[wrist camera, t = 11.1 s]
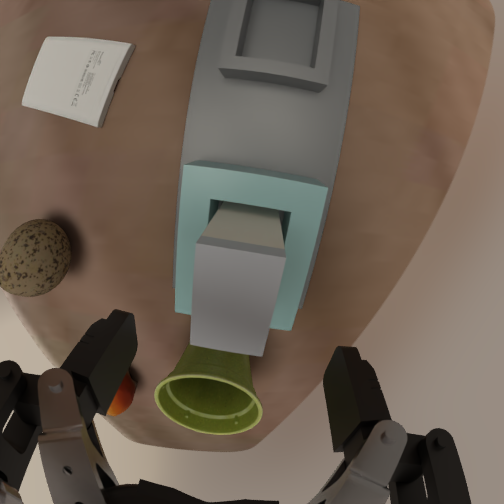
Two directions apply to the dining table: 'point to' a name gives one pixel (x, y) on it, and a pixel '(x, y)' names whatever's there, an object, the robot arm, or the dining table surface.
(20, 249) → the decorative egg
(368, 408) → the robot arm
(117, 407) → the fruit
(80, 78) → the external hard drive
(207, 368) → the plant pot
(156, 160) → the dining table surface
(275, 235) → the plug
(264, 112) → the panel
